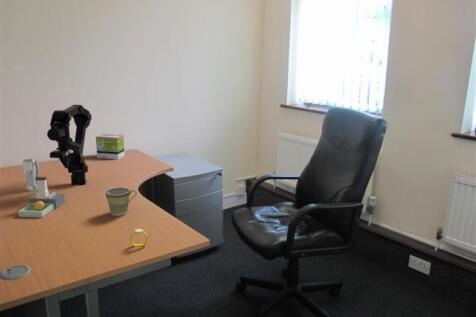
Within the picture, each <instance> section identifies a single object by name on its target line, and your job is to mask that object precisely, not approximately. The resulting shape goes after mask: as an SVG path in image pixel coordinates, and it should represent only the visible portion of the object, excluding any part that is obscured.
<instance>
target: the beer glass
mask: <svg viewBox="0 0 476 317" xmlns="http://www.w3.org/2000/svg"><path fill="white" fill-rule="evenodd" d="M22 169H23V174H24V178H25V180H26V191H28V192H34V191H35V192H36V191H37V181H36V177H40V175H39V174H40V167H39V160H38V158H28V159H24V160H23V159H22Z"/></svg>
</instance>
